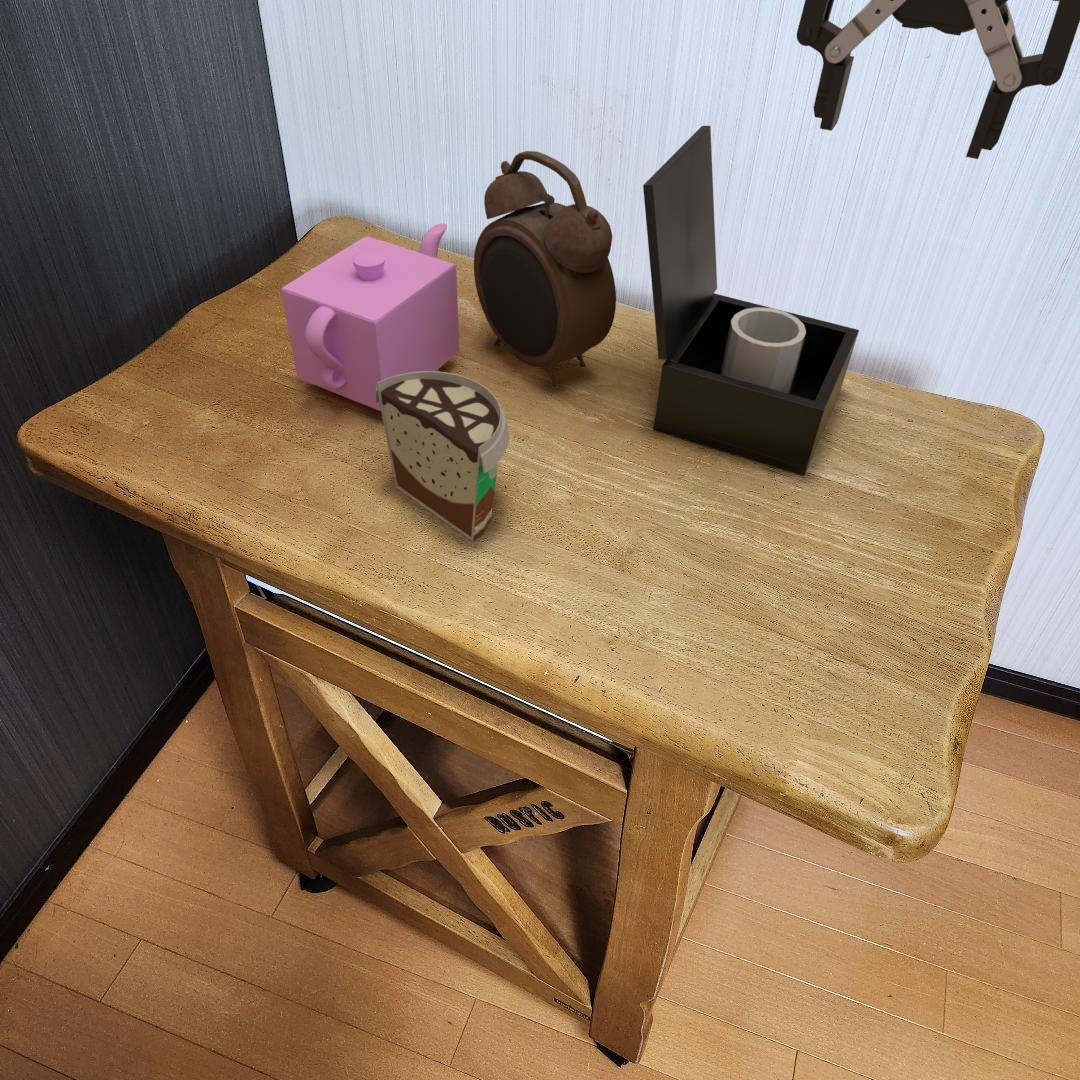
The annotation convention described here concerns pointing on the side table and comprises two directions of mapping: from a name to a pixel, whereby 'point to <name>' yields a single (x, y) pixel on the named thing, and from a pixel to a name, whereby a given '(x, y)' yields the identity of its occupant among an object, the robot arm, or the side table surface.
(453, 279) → the teapot
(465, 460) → the food container
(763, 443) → the black square box
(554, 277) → the alarm clock
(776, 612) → the side table surface
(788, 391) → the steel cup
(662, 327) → the black box lid
